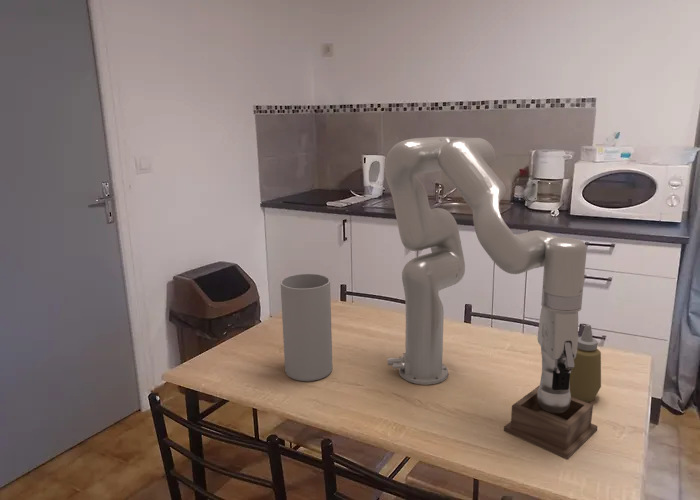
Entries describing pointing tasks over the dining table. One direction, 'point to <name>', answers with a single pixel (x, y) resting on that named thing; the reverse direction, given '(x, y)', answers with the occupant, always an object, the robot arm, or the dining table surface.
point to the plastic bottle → (546, 395)
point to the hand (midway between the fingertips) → (554, 381)
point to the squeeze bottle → (586, 368)
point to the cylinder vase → (307, 326)
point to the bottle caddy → (552, 425)
